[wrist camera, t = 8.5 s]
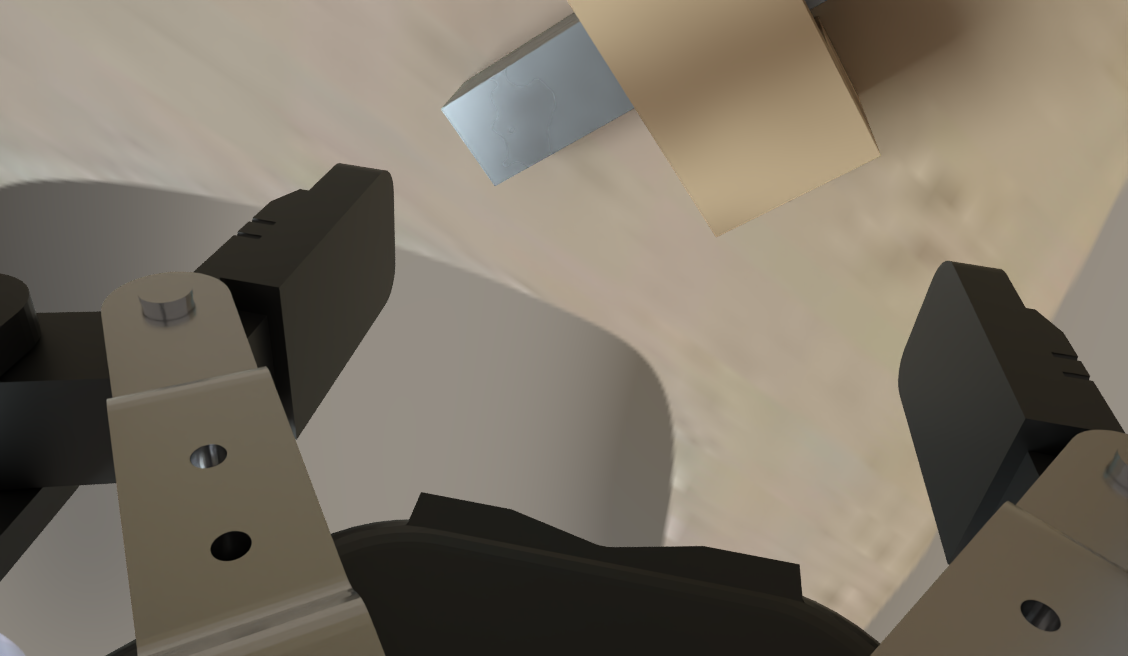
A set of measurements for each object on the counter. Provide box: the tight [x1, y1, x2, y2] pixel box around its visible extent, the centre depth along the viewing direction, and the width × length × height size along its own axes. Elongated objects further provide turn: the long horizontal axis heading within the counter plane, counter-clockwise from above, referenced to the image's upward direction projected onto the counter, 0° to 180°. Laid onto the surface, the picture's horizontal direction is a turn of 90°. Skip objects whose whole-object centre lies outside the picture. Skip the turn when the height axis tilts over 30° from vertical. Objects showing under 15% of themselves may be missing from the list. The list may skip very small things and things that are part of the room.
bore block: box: [567, 0, 881, 237], centre depth 24 cm, size 10×5×5 cm, turn 34°
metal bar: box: [441, 0, 826, 186], centre depth 26 cm, size 3×12×3 cm, turn 123°
